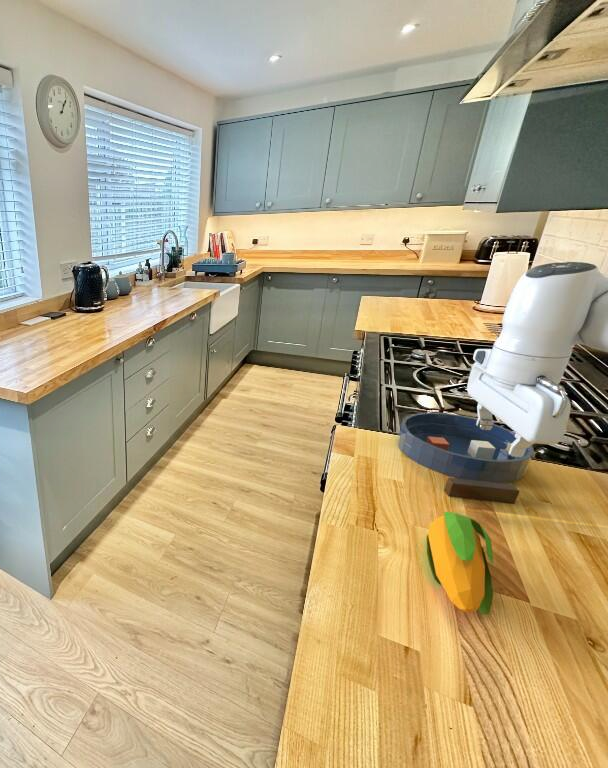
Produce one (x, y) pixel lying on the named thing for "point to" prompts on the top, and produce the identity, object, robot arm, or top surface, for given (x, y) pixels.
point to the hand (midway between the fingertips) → (497, 440)
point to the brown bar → (481, 490)
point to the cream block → (481, 449)
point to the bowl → (461, 447)
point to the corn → (461, 561)
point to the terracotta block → (438, 442)
